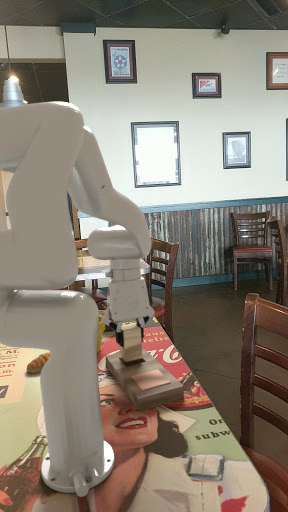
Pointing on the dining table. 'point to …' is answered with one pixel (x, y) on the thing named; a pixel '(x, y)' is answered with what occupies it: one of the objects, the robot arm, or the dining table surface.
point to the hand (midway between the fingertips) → (130, 342)
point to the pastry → (38, 363)
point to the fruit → (107, 325)
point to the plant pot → (100, 333)
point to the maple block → (131, 342)
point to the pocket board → (145, 380)
